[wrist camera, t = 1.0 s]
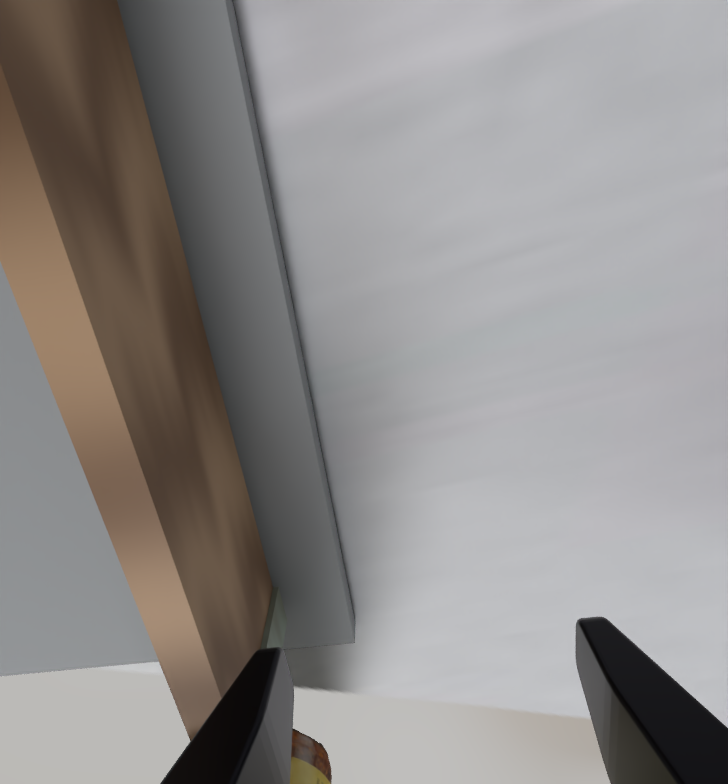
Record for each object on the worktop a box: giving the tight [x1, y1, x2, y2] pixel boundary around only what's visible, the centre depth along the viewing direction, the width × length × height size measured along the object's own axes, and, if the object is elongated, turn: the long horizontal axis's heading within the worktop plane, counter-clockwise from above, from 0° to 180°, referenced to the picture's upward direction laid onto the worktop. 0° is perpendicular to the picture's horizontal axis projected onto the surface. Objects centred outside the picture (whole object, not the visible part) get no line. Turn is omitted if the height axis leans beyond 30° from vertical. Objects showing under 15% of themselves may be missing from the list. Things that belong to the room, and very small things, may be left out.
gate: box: [0, 0, 287, 741], centre depth 14 cm, size 22×2×7 cm, turn 8°
